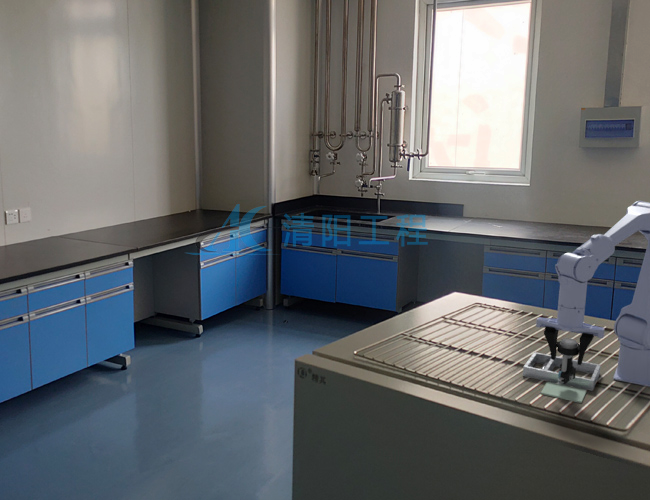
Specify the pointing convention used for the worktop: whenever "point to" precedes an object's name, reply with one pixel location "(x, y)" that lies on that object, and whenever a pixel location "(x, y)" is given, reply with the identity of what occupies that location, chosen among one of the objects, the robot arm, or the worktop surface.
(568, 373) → the push button
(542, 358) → the grey divided frame
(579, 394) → the mat
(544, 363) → the rod
